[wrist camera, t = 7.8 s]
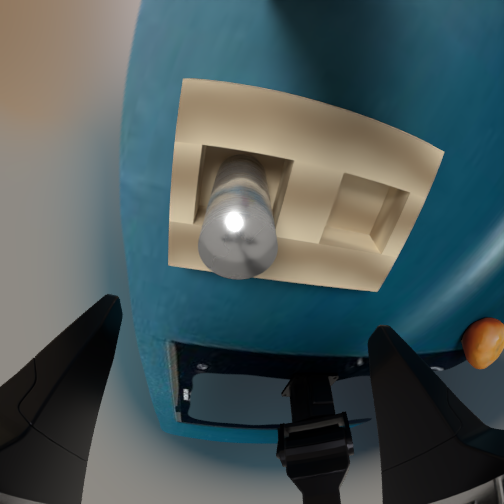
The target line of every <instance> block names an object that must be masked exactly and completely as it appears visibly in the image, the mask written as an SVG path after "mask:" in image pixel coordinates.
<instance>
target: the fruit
mask: <svg viewBox="0 0 504 504" xmlns="http://www.w3.org/2000/svg"><path fill="white" fill-rule="evenodd" d="M460 341H461V343H462V346H463V350H464V352H465V356H466V359H467V360H468V362H469V363H470V364H471V365H472V366H473V367H474V368H476V369H483V368H486V367H487V366H489V365H490V364H492V363H493V362H494V361H495V360H496V359H497V358H498V356H499V355H500V353H501V352H502V350H503V348H504V325H503V323H502V322H501V321H499V320H497V319H494V318H484V319H481V320H479V321H477V322H474V323H472V324H471V325H470V326H469V327H468V329H467V330H466V332H465V333H464V335H463V338H462V340H460Z"/></svg>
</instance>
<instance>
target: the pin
mask: <svg viewBox="0 0 504 504" xmlns="http://www.w3.org/2000/svg"><path fill="white" fill-rule="evenodd" d="M277 251H278V243H277V237H276V230H275V224H274V218H273V212H272V206H271V201H270V195H269V189H268V183H267V178H266V172H265V169H264V167H263V165H262V164H261V163H260V162H259V161H258V160H257V159H256V158H254V157H252V156H250V155H245V154H237V155H233V156H231V157H229V158H227V159H226V160H224V161H223V162H222V163H221V165H220V166H219V168H218V171H217V174H216V178H215V181H214V185H213V188H212V192H211V195H210V199H209V202H208V206H207V210H206V213H205V217H204V221H203V225H202V228H201V232H200V236H199V240H198V252H199V255H200V258H201V260H202V261H203V263H204V264H205V265H206V267H207V268H209V269H210V270H211V271H212V272H214V273H216V274H217V275H220V276H222V277H225V278H230V279H248V278H252V277H255V276H257V275H259V274H261V273H263V272H264V271H266V270H267V269H268V268H269V267H270V266H271V265H272V263H273V262H274V260H275V258H276V256H277Z"/></svg>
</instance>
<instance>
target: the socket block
mask: <svg viewBox="0 0 504 504" xmlns="http://www.w3.org/2000/svg"><path fill="white" fill-rule="evenodd" d="M237 154H245V155H250V156H252V157H254V158H256V159H257V160H258V161H259V162H260V163H261V164H262V165H263V167H264V169H265V172H266V178H267V183H268V189H269V195H270V201H271V206H272V212H273V218H274V224H275V230H276V237H277V243H278V251H277V256H276V258H275V260H274V262H273V263H272V265H271V266H270V267H269V268H268V269H267V270H266V271H264V272H263V273H261V274H259V275H257V276H255V277H254V278H262V279H269V280H277V281H285V282H293V283H302V284H310V285H319V286H327V287H336V288H345V289H355V290H364V291H374V292H378V290H379V288H380V287H381V285H382V283H383V282H384V280H385V278H386V276H387V275H388V273H389V271H390V269H391V268H392V266H393V264H394V262H395V260H396V259H397V257H398V255H399V253H400V251H401V249H402V247H403V245H404V243H405V242H406V240H407V238H408V236H409V234H410V232H411V230H412V228H413V225H414V223H415V221H416V219H417V217H418V215H419V213H420V211H421V208H422V206H423V204H424V202H425V200H426V197H427V195H428V193H429V190H430V188H431V185H432V183H433V181H434V178H435V176H436V173H437V171H438V168H439V165H440V163H441V160H442V157H443V155H444V151H442V150H440V149H438V148H436V147H435V146H433V145H431V144H429V143H427V142H425V141H423V140H421V139H419V138H417V137H415V136H413V135H411V134H408V133H406V132H404V131H402V130H399V129H397V128H395V127H392V126H390V125H387V124H385V123H382V122H380V121H377V120H375V119H372V118H369V117H366V116H364V115H361V114H358V113H355V112H352V111H349V110H346V109H343V108H340V107H337V106H334V105H330V104H327V103H324V102H320V101H316V100H313V99H309V98H305V97H301V96H297V95H293V94H289V93H285V92H280V91H276V90H271V89H266V88H261V87H255V86H249V85H243V84H237V83H230V82H223V81H215V80H205V79H195V78H190V79H183V83H182V89H181V96H180V103H179V111H178V118H177V127H176V136H175V145H174V156H173V167H172V181H171V196H170V217H169V256H168V265H170V266H176V267H183V268H190V269H196V270H203V271H210V272H212V271H211V270H210V269H209V268H207V267H206V265H205V264H204V263H203V261H202V260H201V258H200V255H199V252H198V240H199V236H200V232H201V228H202V225H203V221H204V217H205V213H206V210H207V206H208V202H209V199H210V195H211V192H212V188H213V185H214V181H215V178H216V174H217V171H218V168H219V166H220V165H221V163H222V162H223V161H224V160H226V159H227V158H229V157H231V156H233V155H237Z"/></svg>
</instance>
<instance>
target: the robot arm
mask: <svg viewBox="0 0 504 504" xmlns="http://www.w3.org/2000/svg"><path fill="white" fill-rule="evenodd" d="M121 322H122V309H121V304H120V299H119V297H118V296H116V295H111V294H107V295H105V296H104V297H102V298H101V299H100V300H99V301H98V302H97V303H95V304H94V305H93V306H92V307H90V308H89V309H88V310H87V311H86V312H85V313H83V314H82V315H81V316H80V317H79V318H77V319H76V320H75V321H74V322H73V323H72V324H71V325H69V326H68V327H67V328H66V329H65V330H64V331H63V332H61V333H60V334H59V335H58V336H57V337H56V338H55V339H54V340H52V341H51V342H50V343H49V344H48V345H47V346H46V347H45V348H44V349H43V350H41V352H39V353H38V354H37V355H36V356H35V358H33V359H32V360H31V361H30V362H29V363H27V364H26V366H24V367H23V368H22V369H21V370H20V371H19V372H18V373H17V374H15V375H14V376H13V377H12V378H10V379H9V380H8V381H7V382H6V383H4V384H3V385H2V386H1V387H0V504H81V501H82V493H83V486H84V479H85V473H86V467H87V461H88V456H89V450H90V446H91V441H92V437H93V432H94V428H95V424H96V419H97V416H98V412H99V408H100V404H101V400H102V397H103V393H104V390H105V386H106V383H107V379H108V376H109V372H110V369H111V366H112V363H113V359H114V355H115V350H116V345H117V340H118V335H119V330H120V326H121ZM368 353H369V365H370V378H371V385H372V392H373V398H374V405H375V412H376V420H377V428H378V436H379V447H380V458H381V471H382V473H381V474H382V493H383V504H504V430H499V429H494V428H490V427H489V426H487V425H485V424H484V423H483V422H482V421H481V420H480V419H479V418H478V417H477V416H475V415H474V414H473V413H472V412H471V411H470V410H469V409H468V408H467V407H466V406H465V405H464V404H463V403H462V402H461V401H460V400H459V399H458V398H457V397H456V396H455V395H454V393H453V392H452V391H451V390H450V389H449V388H448V387H447V386H446V385H445V383H444V382H443V381H442V380H441V379H440V378H439V377H438V376H437V375H436V374H435V373H434V372H433V370H432V369H431V368H430V367H429V366H428V365H427V364H426V363H425V362H424V361H423V360H422V359H421V358H420V357H419V356H418V355H417V354H416V352H415V351H414V350H413V349H412V348H411V347H410V346H409V345H408V344H407V343H406V342H405V341H404V340H403V339H402V338H401V337H400V336H399V335H398V334H397V333H396V332H395V331H394V330H393V329H392V328H391V327H390V326H388V325H379V326H378V327H377V328H376V330H375V331H374V332H373V334H372V335H371V336H370V338H369V340H368ZM337 379H338V374H294V375H293V376H292V378H291V379H290V381H289V382H288V384H287V385H286V387H285V388H284V390H283V391H282V393H281V394H282V396H287V397H288V396H289V397H290V404H291V413H292V423H287V424H284V423H283V424H280V427H279V428H278V445H277V453H276V456H277V458H279V459H280V461H281V463H282V466H283V467H286V472H287V475H288V477H289V478H290V479H291V480H292V481H293V483H295V485H296V486H297V487H298V489H299V490H300V491H301V492H302V494H303V504H341V501H340V492H339V489H340V487H341V485H342V484H343V482H344V480H345V477H346V475H347V473H348V471H349V466H350V460H349V456H350V455H353V454H354V449H353V442H352V436H351V432H350V427H349V423H348V418H347V414H346V412H342V413H340V414H335V410H334V404H333V398H332V392H331V385H332V384H333V383H334V382H335V381H336V380H337ZM339 426H343V427H339Z"/></svg>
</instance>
